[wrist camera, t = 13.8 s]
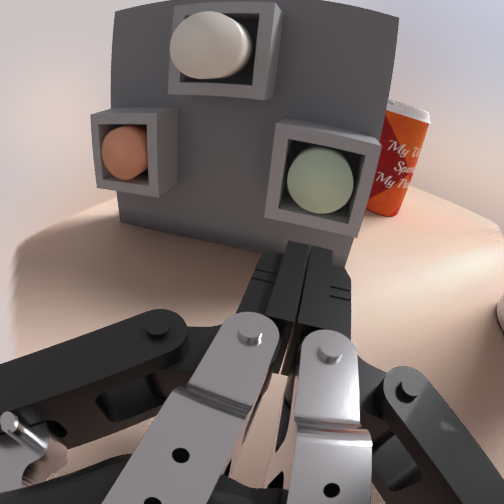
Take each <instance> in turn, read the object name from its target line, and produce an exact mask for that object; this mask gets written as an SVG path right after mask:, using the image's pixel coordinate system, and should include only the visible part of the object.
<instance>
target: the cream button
mask: <svg viewBox="0 0 504 504" xmlns="http://www.w3.org/2000/svg"><path fill="white" fill-rule="evenodd" d="M252 51H253V41H252V37H251V35H250V33H249V32H248V30H247V29H246V28H245V27H244V26H243V25H242V24H240V23H238V22H237V21H235V20H233V19H231V18H229V17H228V16H226V15H224V14H221V13H218V12H213V11H204V12H199V13H196V14H193V15H191V16H189V17H188V18H186V19H185V20H184V21H182V22H181V23H180V24H179V25H178V27H177V28H176V29H175V31H174V33H173V35H172V38H171V41H170V55H171V59H172V61H173V63H174V65H175V66H176V68H177V69H178V70H179V71H180V72H182V73H183V74H185V75H187V76H189V77H192V78H196V79H211V78H226V77H230V76H233V75H235V74H237V73H238V72H240V71H241V70H242V69H243V68H244V67H245V66H246V65H247V63H248V62H249V60H250V58H251V55H252Z"/></svg>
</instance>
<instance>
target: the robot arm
mask: <svg viewBox="0 0 504 504" xmlns="http://www.w3.org/2000/svg"><path fill="white" fill-rule="evenodd" d="M309 246H310V245H309V244H304V243H300V242H295V241H291V240H288V243H287V246H286V249H285V253H284V254H281V253H276V252H272V251H269V252H268V253H266V254H265V255H264V256H262V257H261V258H260V259H259V261H258V264H257V266H256V268H255V271H254V273H253V275H252V278H251V280H250V282H249V285H248V287H247V289H246V291H245V294H244V296H243V298H242V301H241V303H240V305H239V308H238V310H237V312H236V314H234V315H232V316H230V317H229V318H227V319H226V320H225V322H224V323H223V324H221V325H218V326H213V327H187V325H186V323H185V321H184V319H183V318H182V317H181V316H180V315H178V314H177V313H175V312H173V311H170V310H165V309H155V310H150V311H147V312H144V313H142V314H139V315H136V316H134V317H131V318H128V319H126V320H123V321H120V322H118V323H115V324H112V325H109V326H107V327H104V328H101V329H99V330H96V331H93V332H90V333H88V334H85V335H82V336H79V337H77V338H74V339H71V340H68V341H65V342H63V343H60V344H57V345H54V346H51V347H49V348H46V349H43V350H40V351H37V352H34V353H31V354H29V355H26V356H23V357H20V358H17V359H14V360H11V361H8V362H5V363H3V364H0V504H370V495H371V482H372V483H373V485H374V486H375V488H376V489H377V491H378V492H379V493H380V495H381V496H382V498H383V499H384V501H385V502H386V504H504V479H503V478H502V477H501V475H500V474H499V472H498V471H497V469H496V468H495V467H494V465H493V464H492V462H491V461H490V460H489V458H488V457H487V455H486V454H485V453H484V451H483V450H482V449H481V447H480V446H479V445H478V443H477V442H476V441H475V439H474V438H473V437H472V435H471V434H470V433H469V431H468V430H467V429H466V427H465V426H464V425H463V424H462V422H461V421H460V420H459V418H458V417H457V416H456V415H455V413H454V412H453V411H452V409H451V408H450V407H449V406H448V404H447V403H446V402H445V401H444V399H443V398H442V397H441V396H440V394H439V393H438V392H437V391H436V390H435V388H434V387H433V386H432V385H431V383H430V382H429V381H428V380H427V379H426V377H425V376H424V375H423V374H422V373H420V372H419V371H417V370H416V369H414V368H411V367H406V366H401V367H396V368H394V369H392V370H391V371H389V372H388V373H386V372H384V371H382V370H379V369H377V368H375V367H373V366H371V365H369V364H368V363H366V362H365V361H363V360H362V359H361V358H360V357H359V356H358V355H357V351H356V348H355V346H354V344H353V343H352V342H351V279H350V277H349V275H348V273H347V271H346V270H345V268H342V267H338V266H333V265H332V255H333V250H331V249H326V248H322V247H318V246H313V245H311V248H310V252H309V256H308V251H309ZM307 257H308V260H307ZM306 262H307V264H306ZM497 316H498V320H499V323H500V325H501V328H502V329H503V331H504V294H503V296H502V297H501V299H500V301H499V302H498V304H497ZM287 345H288V346H287ZM286 349H287V351H286ZM285 352H286V355H285ZM284 355H285V359H284V363H283V367H282V371H281V374H282V375H286V376H288V379H287V383H286V387H285V390H284V393H283V395H282V399H281V404H280V411H279V417H278V423H277V429H276V435H275V441H274V446H273V452H272V456H271V460H270V463H269V466H268V469H267V473H266V477H265V482H264V487H263V488H260V489H256V488H249V487H247V486H244V485H243V484H241V483H239V482H237V481H235V480H233V479H231V478H230V476H231V473H232V471H233V469H234V467H235V464H236V462H237V459H238V457H239V454H240V452H241V449H242V446H243V444H244V442H245V439H246V437H247V435H248V432H249V430H250V427H251V425H252V423H253V420H254V418H255V415H256V413H257V410H258V408H259V405H260V403H261V400H262V398H263V395H264V393H265V392H266V390H267V389H268V386H269V383H270V380H271V376H272V373H277V374H279V371H280V368H281V365H282V362H283V358H284ZM156 415H157V416H156ZM154 416H156V417H155V419H154V421H153V422H152V424H151V426H150V427H149V429H148V430H147V432H146V434H145V435H144V437H143V438H142V440H141V442H140V443H139V445H138V446H137V448H136V450H135V451H134V453H133V454H126V455H121V456H117V457H113V458H110V459H107V460H105V461H102V462H100V463H97V464H95V465H92V466H89V467H87V468H84V469H81V470H78V471H76V472H73V473H70V474H67V475H64V476H61V477H58V478H55V479H51V480H48V481H46V479H47V478H48V477H49V476H50V475H51V474H52V473H55V472H57V471H59V470H60V469H61V468H62V467H64V466H65V465H66V463H67V449H70V448H74V447H77V446H80V445H82V444H85V443H88V442H91V441H94V440H97V439H99V438H102V437H105V436H108V435H110V434H113V433H115V432H118V431H120V430H123V429H125V428H128V427H130V426H133V425H135V424H138V423H140V422H142V421H145V420H147V419H149V418H152V417H154Z"/></svg>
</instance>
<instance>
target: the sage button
mask: <svg viewBox="0 0 504 504" xmlns="http://www.w3.org/2000/svg"><path fill="white" fill-rule="evenodd" d="M287 185H288V190H289V193H290V195H291V197H292V198H293V200H294V201H295V202H296V203H297V204H298V205H299V206H300V207H302V208H303V209H305V210H307V211H310V212H313V213H319V214H324V213H331V212H334V211H336V210H338V209H340V208H341V207H342V206H344V205H345V204H346V203H347V201H348V200H349V198H350V196H351V194H352V191H353V176H352V171H351V166H350V163H349V160H348V158H347V157H346V155H345V154H344V153H343V152H342V151H341V150H340V149H337V148H332V147H328V146H323V145H318V144H310V145H307V146H306V147H304V148H303V149H301V150H300V151H299V152H298V154H297V155H296V157H295V159H294V161H293V163H292V165H291V167H290V169H289V172H288V176H287Z"/></svg>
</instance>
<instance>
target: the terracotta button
mask: <svg viewBox="0 0 504 504" xmlns="http://www.w3.org/2000/svg"><path fill="white" fill-rule="evenodd" d="M102 158H103V161H104V164H105V166H106V168H107V169H108V170H109V172H110V173H111V174H112V175H114V176H115V177H117V178H119V179H123V180H128V179H132V178H134V177H135V176H137V175H139V174H140V173H142V172H143V171H145V170H147V169H148V152H147V124H128V125H125V126H123V127H120V128H117V129H114V130H112V131H110V132H109V133H108V134H107V135H106V137H105V139H104V141H103V144H102Z"/></svg>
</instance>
